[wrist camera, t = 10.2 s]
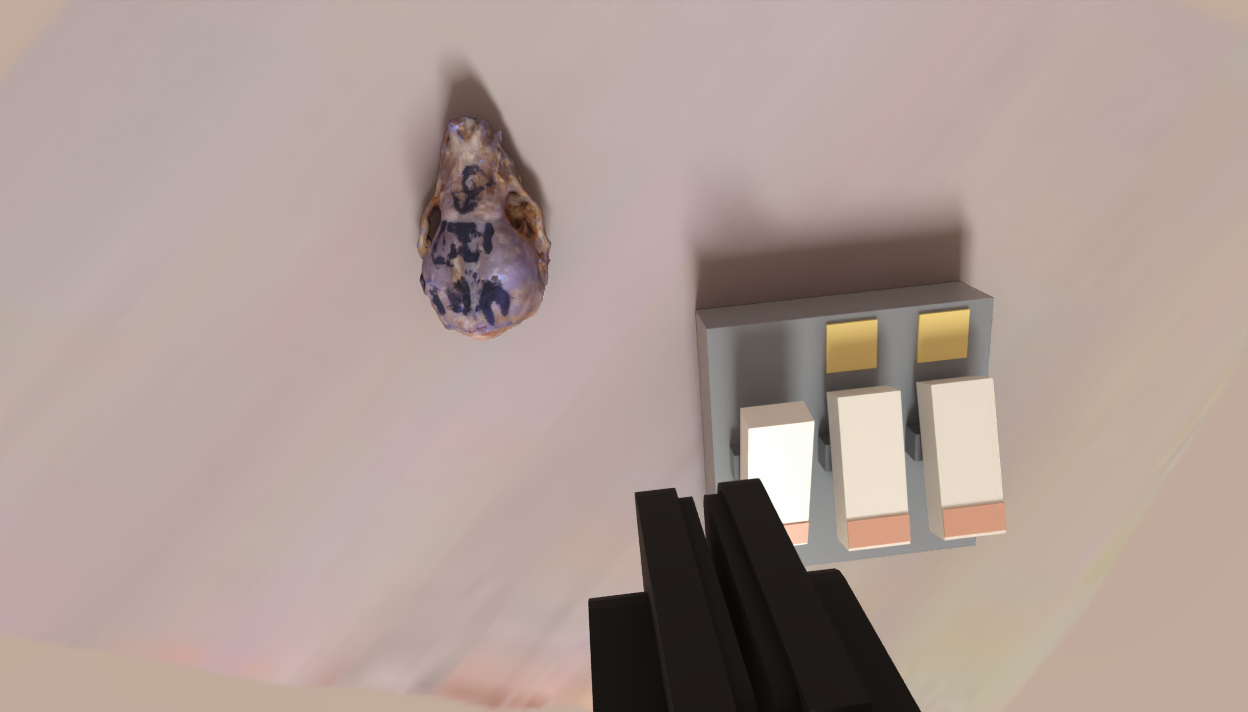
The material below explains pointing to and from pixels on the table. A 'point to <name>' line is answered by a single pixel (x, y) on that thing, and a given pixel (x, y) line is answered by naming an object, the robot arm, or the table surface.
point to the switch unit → (838, 382)
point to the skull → (482, 237)
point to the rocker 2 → (868, 467)
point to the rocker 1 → (780, 459)
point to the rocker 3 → (961, 457)
